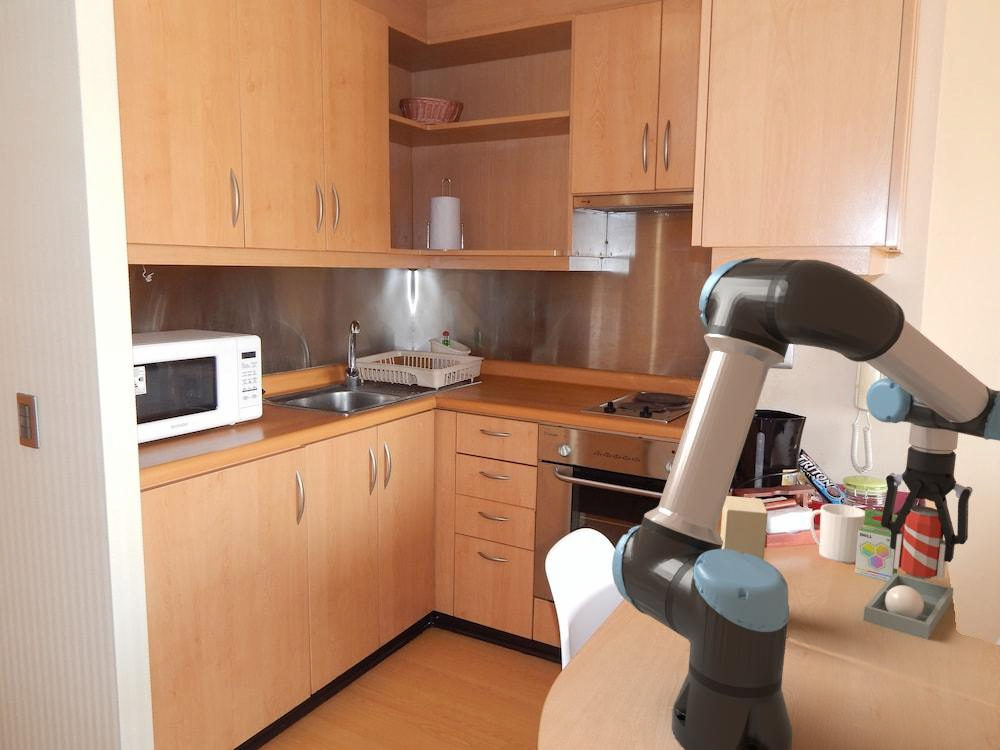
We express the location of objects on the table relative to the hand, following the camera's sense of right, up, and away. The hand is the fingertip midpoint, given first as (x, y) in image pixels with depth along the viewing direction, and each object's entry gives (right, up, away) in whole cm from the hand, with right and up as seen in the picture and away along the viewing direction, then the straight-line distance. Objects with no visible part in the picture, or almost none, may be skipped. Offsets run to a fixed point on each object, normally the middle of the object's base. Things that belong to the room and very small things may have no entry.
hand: (918, 571), depth 142 cm
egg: (-6, -7, -6) cm, 11 cm away
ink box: (-2, -5, +13) cm, 14 cm away
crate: (-3, -7, -3) cm, 8 cm away
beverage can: (0, -1, 0) cm, 1 cm away
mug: (-5, -3, +25) cm, 25 cm away
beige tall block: (-35, -7, -6) cm, 36 cm away
